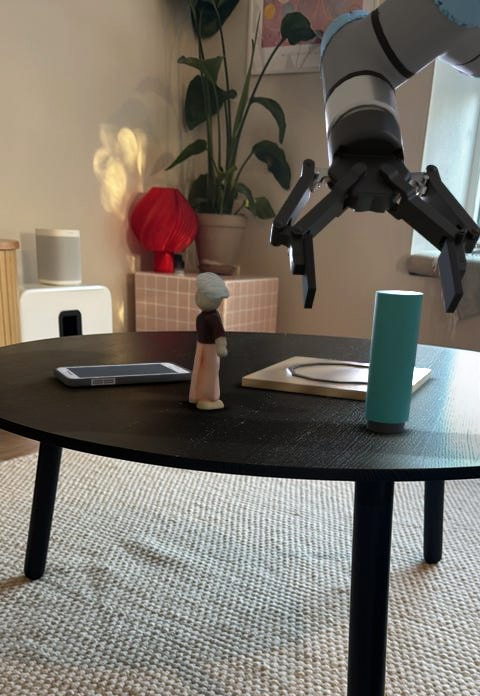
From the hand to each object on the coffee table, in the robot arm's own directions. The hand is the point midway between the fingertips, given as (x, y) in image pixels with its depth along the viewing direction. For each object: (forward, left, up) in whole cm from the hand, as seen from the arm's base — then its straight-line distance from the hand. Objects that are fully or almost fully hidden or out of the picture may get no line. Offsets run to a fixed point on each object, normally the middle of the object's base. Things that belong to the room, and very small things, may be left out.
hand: (382, 301), depth 70 cm
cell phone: (+30, -2, -11) cm, 32 cm away
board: (+8, -15, -11) cm, 20 cm away
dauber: (-2, +5, -11) cm, 12 cm away
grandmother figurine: (+16, +5, -11) cm, 20 cm away
